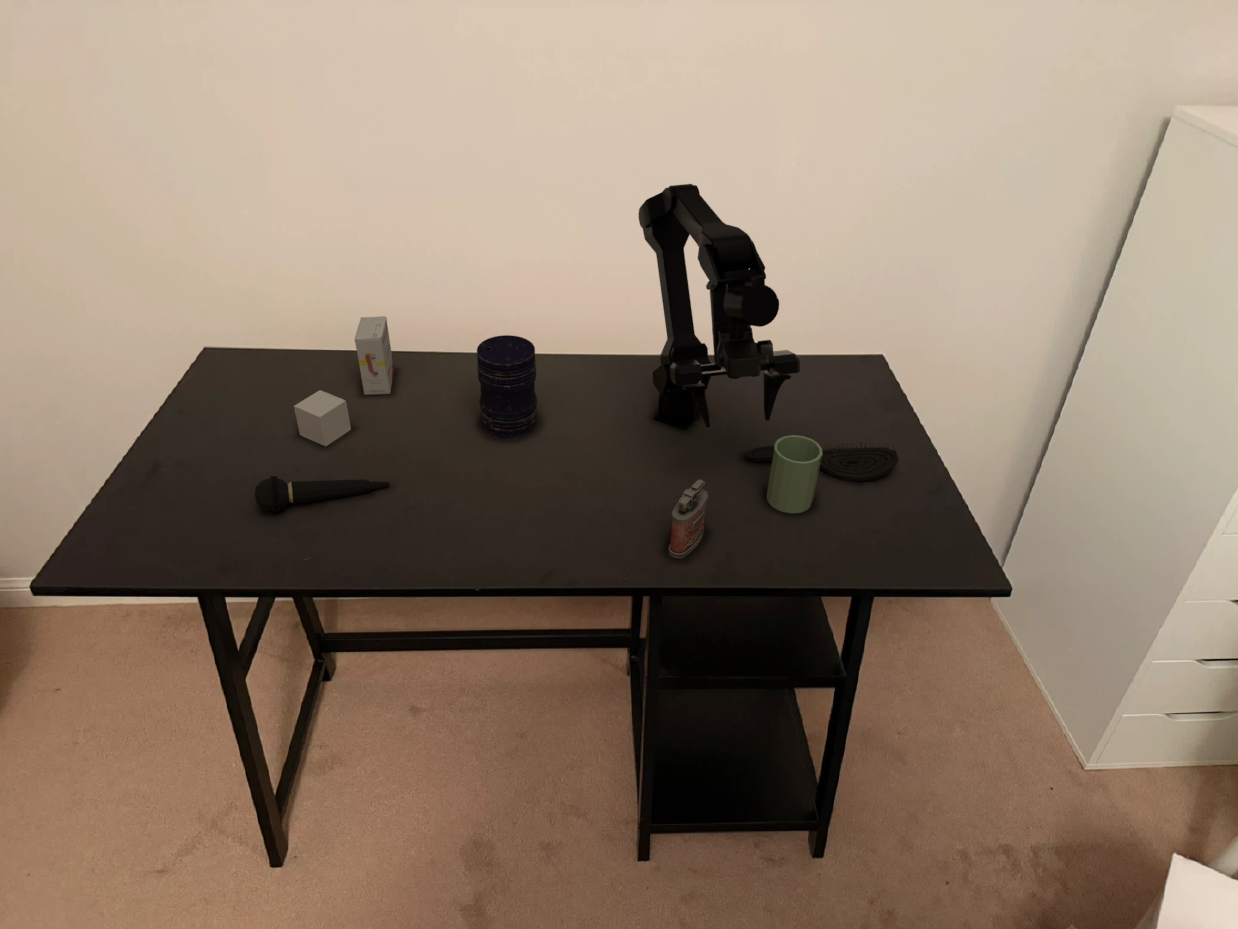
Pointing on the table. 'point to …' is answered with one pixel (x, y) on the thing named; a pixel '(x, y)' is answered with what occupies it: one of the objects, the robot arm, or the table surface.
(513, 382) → the storage jar
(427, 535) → the table surface
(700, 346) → the robot arm
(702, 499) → the lighter
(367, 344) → the ink box
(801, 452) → the pen cup
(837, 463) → the hairbrush
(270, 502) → the microphone
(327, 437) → the light grey cube
